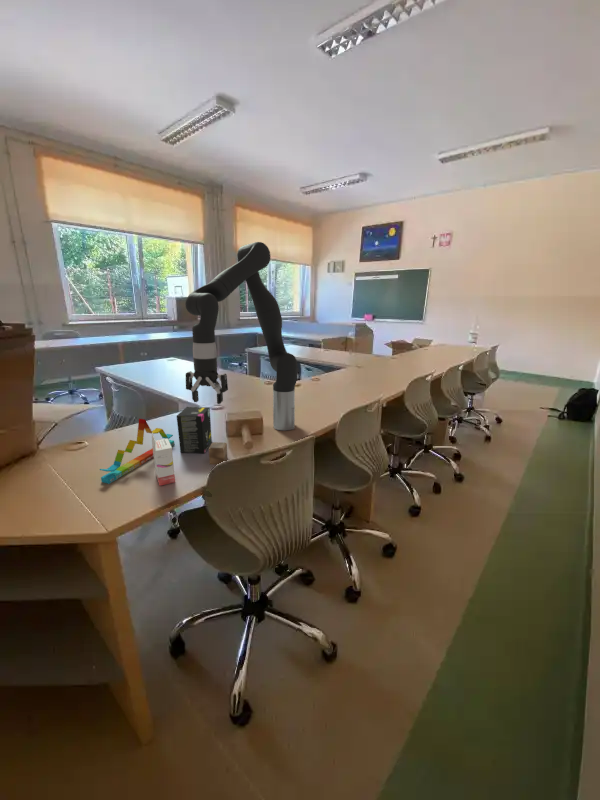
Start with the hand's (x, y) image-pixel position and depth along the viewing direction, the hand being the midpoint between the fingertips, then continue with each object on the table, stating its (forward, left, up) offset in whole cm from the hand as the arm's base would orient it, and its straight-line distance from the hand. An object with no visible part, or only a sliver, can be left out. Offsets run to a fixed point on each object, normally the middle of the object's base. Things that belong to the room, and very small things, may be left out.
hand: (207, 402), depth 117 cm
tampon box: (+7, -6, -20) cm, 22 cm away
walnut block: (-4, +5, -20) cm, 21 cm away
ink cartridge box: (+10, +17, -20) cm, 28 cm away
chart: (+22, +6, -21) cm, 31 cm away
